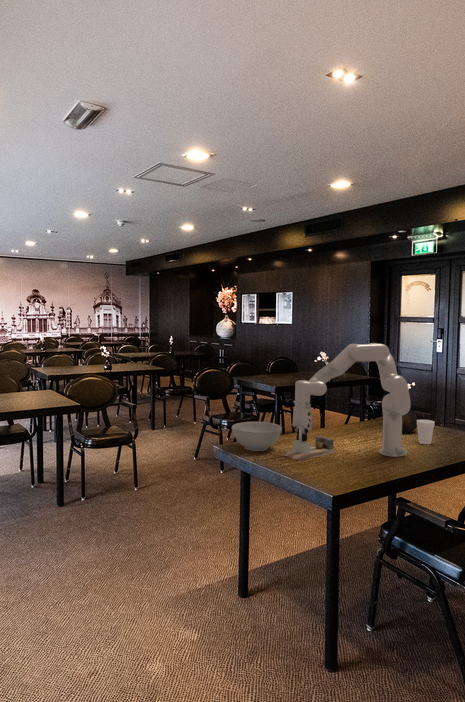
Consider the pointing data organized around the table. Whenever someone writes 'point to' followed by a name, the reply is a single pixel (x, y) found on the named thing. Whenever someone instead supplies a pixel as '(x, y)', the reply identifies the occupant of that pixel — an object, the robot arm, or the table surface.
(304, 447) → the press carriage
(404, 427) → the dark brown vase
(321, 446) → the walnut
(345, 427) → the table surface
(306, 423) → the robot arm
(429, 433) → the foam cup
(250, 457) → the table surface
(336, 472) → the table surface
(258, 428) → the decorative bowl
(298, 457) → the base
